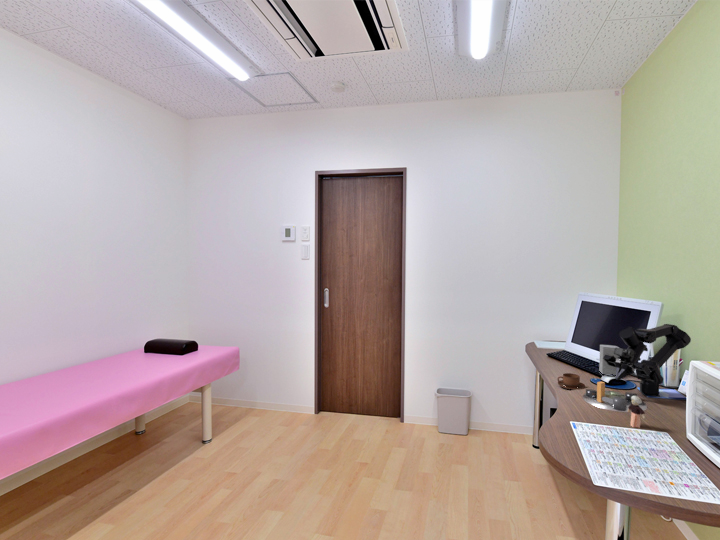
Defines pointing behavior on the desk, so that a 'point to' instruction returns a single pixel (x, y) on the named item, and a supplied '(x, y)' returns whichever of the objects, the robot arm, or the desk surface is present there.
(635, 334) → the robot arm
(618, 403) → the grey and tan piece
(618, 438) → the desk surface
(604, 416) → the desk surface
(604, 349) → the skincare box
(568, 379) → the cup and saucer
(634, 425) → the grandmother figurine
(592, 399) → the levelling plate
